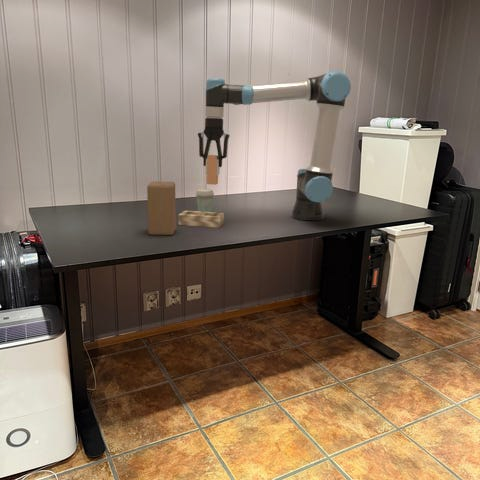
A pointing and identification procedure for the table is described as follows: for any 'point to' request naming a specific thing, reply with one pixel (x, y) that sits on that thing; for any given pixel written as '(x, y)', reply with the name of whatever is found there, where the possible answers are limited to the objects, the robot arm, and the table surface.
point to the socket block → (201, 219)
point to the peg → (212, 169)
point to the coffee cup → (204, 200)
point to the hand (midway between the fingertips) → (212, 174)
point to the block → (161, 208)
